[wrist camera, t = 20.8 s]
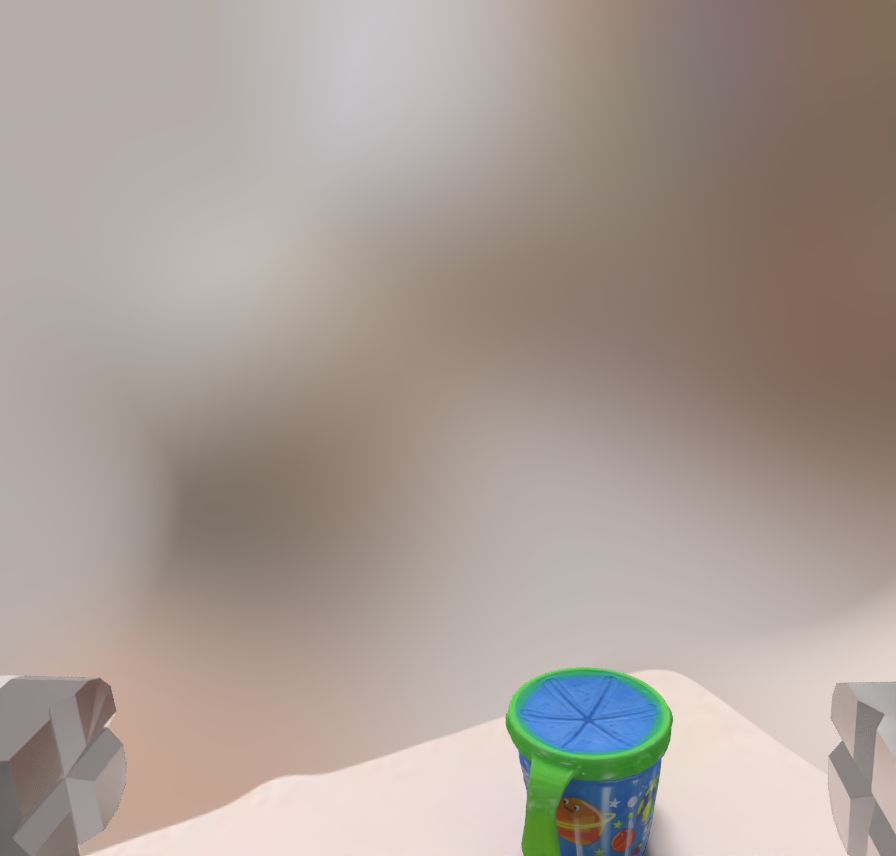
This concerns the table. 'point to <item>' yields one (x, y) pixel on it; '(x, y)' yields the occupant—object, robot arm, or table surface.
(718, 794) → the table surface
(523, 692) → the snack cup
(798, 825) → the table surface
